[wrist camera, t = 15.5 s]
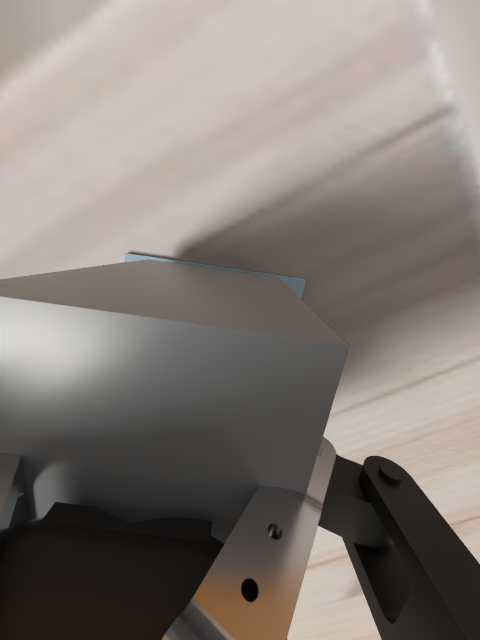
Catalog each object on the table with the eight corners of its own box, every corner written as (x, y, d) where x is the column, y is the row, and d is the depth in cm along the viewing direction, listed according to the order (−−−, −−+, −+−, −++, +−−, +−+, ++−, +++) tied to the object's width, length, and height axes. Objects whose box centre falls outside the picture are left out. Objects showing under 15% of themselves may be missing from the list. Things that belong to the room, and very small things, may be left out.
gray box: (279, 278, 12) (349, 344, 4) (250, 434, 15) (256, 663, 7) (148, 259, 12) (-61, 288, 4) (143, 420, 15) (16, 637, 7)
